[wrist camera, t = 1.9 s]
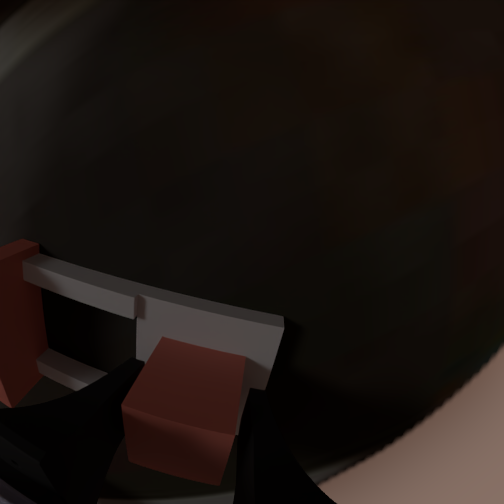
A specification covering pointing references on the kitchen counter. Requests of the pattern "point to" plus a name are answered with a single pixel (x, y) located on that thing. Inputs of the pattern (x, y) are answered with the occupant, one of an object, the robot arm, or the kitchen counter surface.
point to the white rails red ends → (143, 358)
